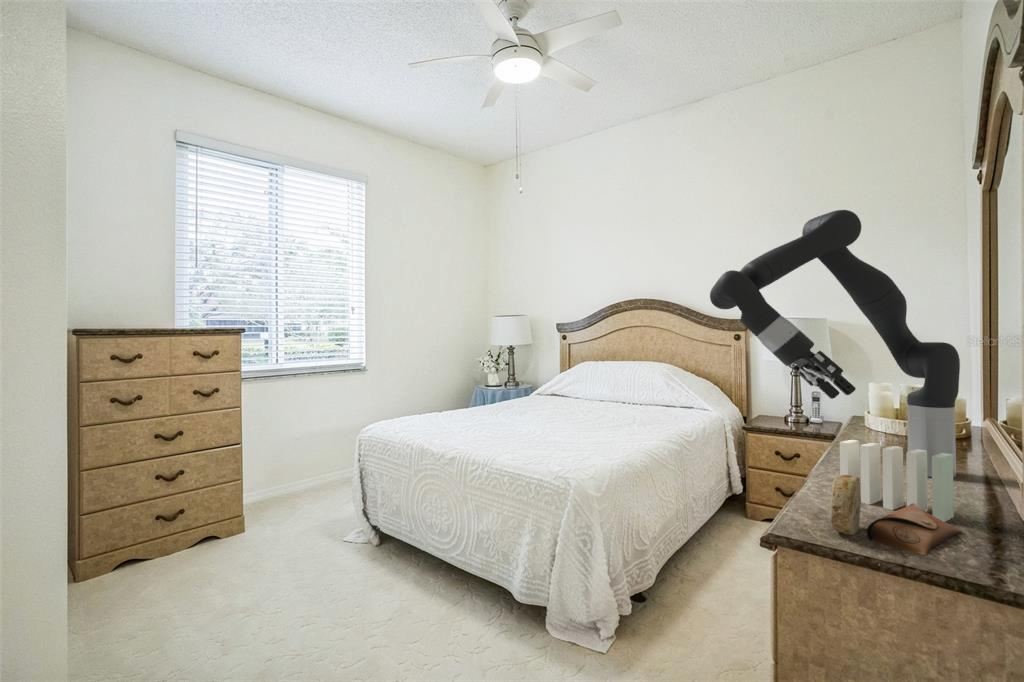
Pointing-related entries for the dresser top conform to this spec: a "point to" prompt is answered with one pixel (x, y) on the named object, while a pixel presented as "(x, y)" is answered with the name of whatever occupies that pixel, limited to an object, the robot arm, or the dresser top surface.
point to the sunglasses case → (910, 530)
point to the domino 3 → (893, 477)
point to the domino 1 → (849, 458)
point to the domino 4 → (917, 478)
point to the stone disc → (845, 504)
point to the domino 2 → (870, 473)
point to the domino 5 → (942, 486)
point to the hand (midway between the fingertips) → (843, 394)
